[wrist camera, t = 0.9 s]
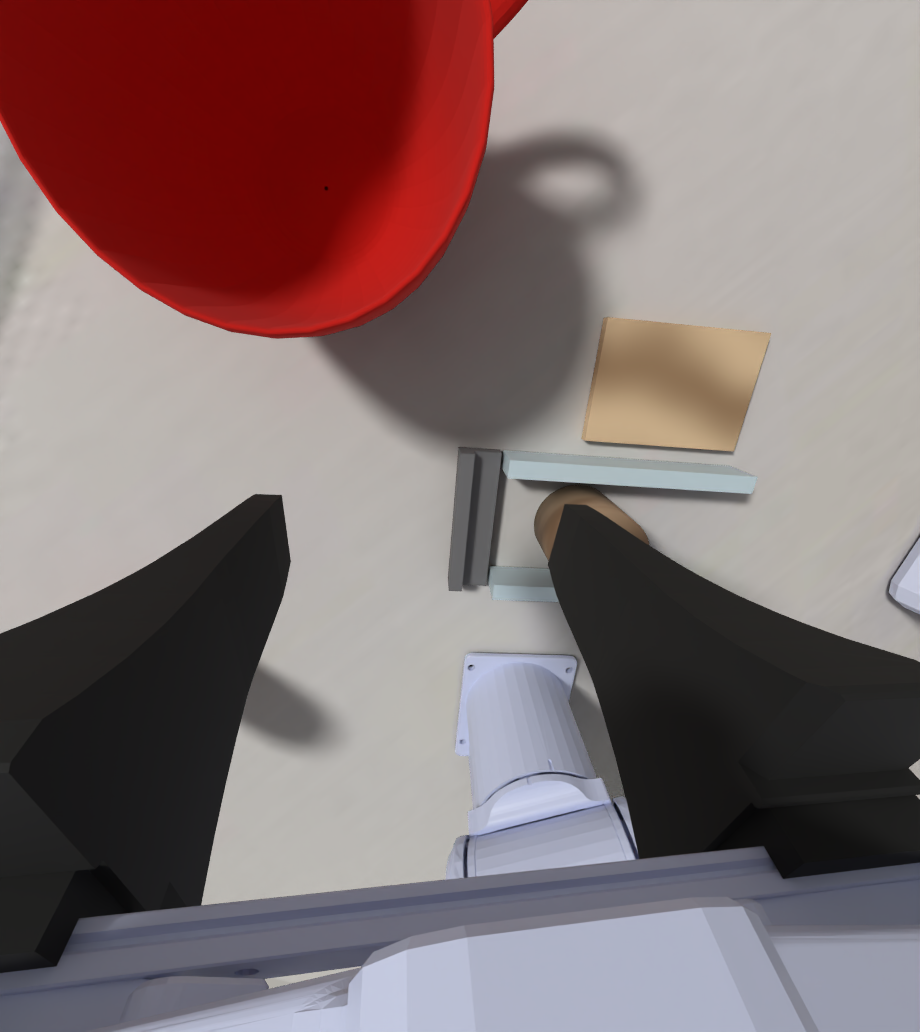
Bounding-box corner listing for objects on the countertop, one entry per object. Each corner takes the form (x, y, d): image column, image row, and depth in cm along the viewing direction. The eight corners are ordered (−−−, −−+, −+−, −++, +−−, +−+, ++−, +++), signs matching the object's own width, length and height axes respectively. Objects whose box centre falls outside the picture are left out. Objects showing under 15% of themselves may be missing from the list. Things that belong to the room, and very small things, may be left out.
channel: (690, 588, 29) (712, 608, 27) (487, 579, 28) (492, 599, 26) (730, 465, 26) (757, 476, 24) (503, 450, 25) (510, 460, 23)
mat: (727, 449, 26) (733, 451, 25) (581, 438, 25) (584, 440, 24) (763, 333, 23) (771, 333, 23) (603, 318, 23) (608, 317, 22)
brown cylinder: (603, 559, 28) (637, 601, 23) (528, 556, 28) (547, 598, 23) (620, 487, 26) (660, 516, 22) (540, 482, 26) (563, 511, 21)
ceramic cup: (587, 202, 21) (711, 84, 11) (305, 390, 23) (220, 418, 14) (447, -152, 16) (464, -812, 7) (117, 126, 19) (-195, -91, 9)
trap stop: (484, 579, 28) (487, 592, 27) (447, 577, 28) (448, 590, 26) (499, 449, 25) (503, 456, 23) (458, 447, 25) (460, 453, 23)
